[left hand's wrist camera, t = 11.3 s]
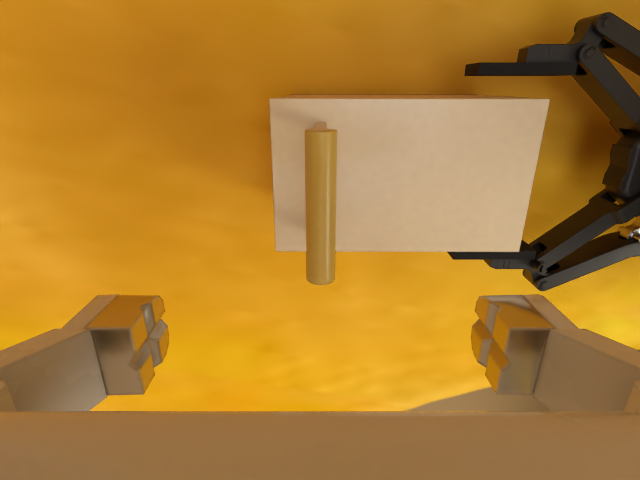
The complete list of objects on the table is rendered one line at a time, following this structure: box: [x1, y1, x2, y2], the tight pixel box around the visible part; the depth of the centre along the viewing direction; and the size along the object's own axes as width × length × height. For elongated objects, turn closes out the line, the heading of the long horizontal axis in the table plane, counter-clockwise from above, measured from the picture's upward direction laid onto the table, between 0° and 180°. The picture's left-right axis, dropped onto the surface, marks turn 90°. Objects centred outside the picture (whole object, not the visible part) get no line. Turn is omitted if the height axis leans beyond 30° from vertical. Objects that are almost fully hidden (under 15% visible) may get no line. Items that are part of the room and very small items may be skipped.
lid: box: [269, 98, 550, 285], centre depth 22 cm, size 17×10×8 cm, turn 90°
